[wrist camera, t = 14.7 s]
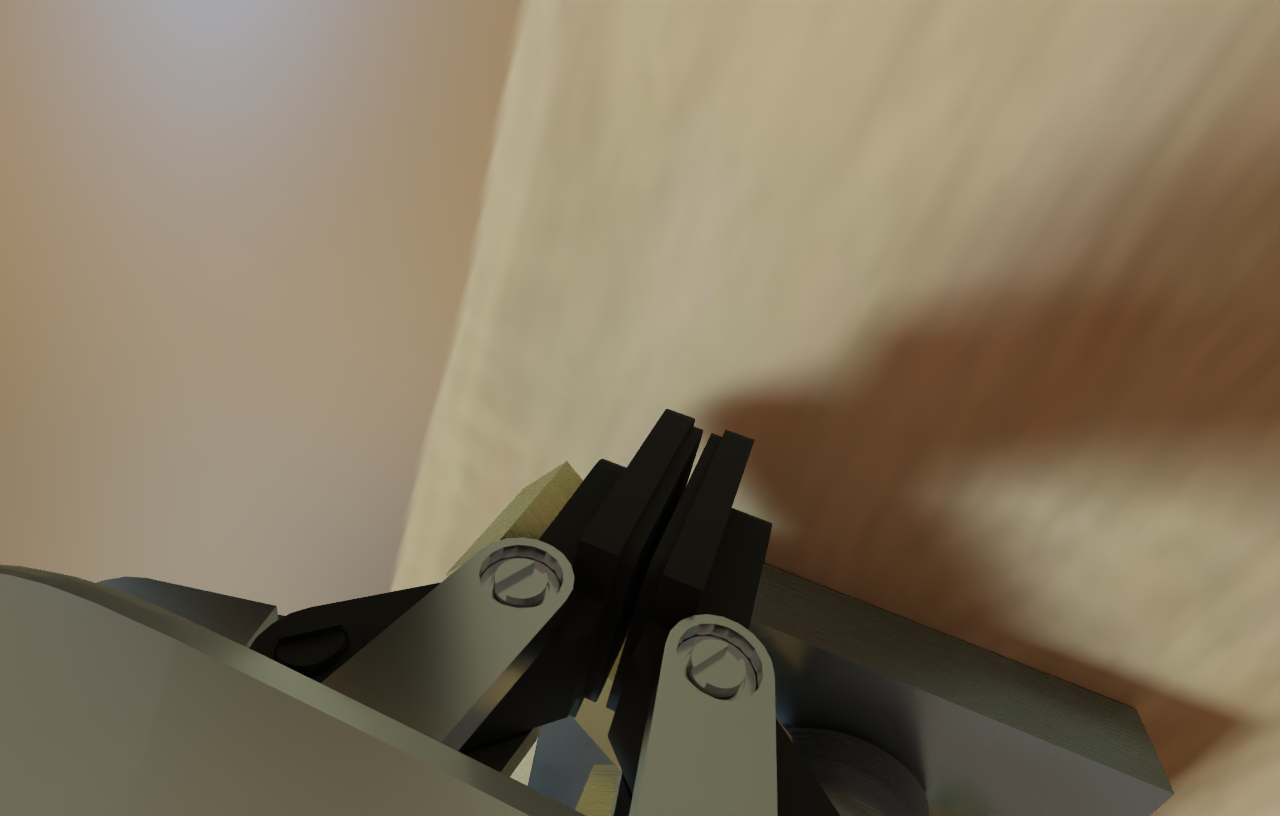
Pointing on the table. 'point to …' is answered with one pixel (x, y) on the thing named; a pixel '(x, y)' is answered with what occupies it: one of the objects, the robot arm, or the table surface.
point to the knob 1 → (599, 791)
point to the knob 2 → (842, 764)
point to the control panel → (924, 714)
